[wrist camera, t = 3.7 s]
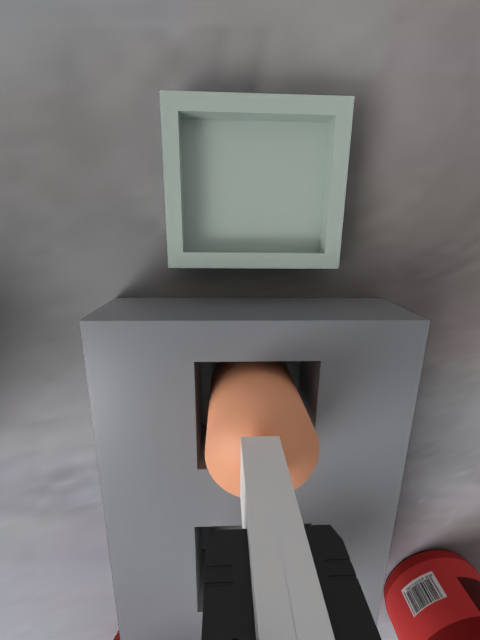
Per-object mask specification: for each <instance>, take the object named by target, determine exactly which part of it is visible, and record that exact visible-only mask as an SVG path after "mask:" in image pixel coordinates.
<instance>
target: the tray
mask: <svg viewBox="0 0 480 640" xmlns="http://www.w3.org/2000/svg"><path fill="white" fill-rule="evenodd" d="M159 94H160V114H161V135H162V155H163V175H164V195H165V216H166V236H167V256H168V268H272V269H339V260H340V249H341V239H342V228H343V217H344V206H345V196H346V185H347V174H348V163H349V152H350V142H351V131H352V120H353V109H354V98H355V96H335V95H302V94H269V93H235V92H202V91H169V90H159Z"/></svg>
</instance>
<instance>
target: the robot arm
mask: <svg viewBox="0 0 480 640" xmlns="http://www.w3.org/2000/svg"><path fill="white" fill-rule="evenodd" d="M240 500H241V515H242V529H226V530H214V531H213V533H212V535H211V537H210V539H209V541H208V543H207V546H206V556H205V576H204V596H203V615H202V635H201V640H381V637H380V635H379V632H378V630H377V627H376V624H375V622H374V619H373V617H372V614H371V611H370V609H369V606H368V604H367V601H366V599H365V596H364V593H363V591H362V588H361V586H360V583H359V580H358V579H357V577H356V573H355V570H354V567H353V565H352V562H350V557H349V554H348V552H347V549H346V547H345V544H344V542H343V539H342V538H341V537H340V536H339V535H338V533H337V532H336V531H335V530H334V529H333V527H332V526H331V525H330V524H329V525H304V524H303V521H302V517H301V514H300V510H299V506H298V503H297V499H296V495H295V492H294V488H293V484H292V481H291V477H290V473H289V470H288V466H287V462H286V459H285V455H284V451H283V448H282V444H281V440H280V437H279V436H250V437H241V464H240Z"/></svg>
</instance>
